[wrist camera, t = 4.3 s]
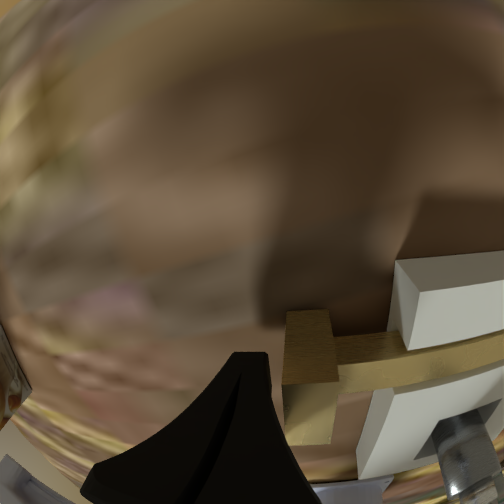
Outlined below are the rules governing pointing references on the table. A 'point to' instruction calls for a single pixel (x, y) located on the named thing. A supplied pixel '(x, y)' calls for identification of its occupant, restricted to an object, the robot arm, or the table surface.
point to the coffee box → (10, 382)
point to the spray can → (499, 488)
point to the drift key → (359, 368)
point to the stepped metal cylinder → (466, 458)
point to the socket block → (431, 334)
